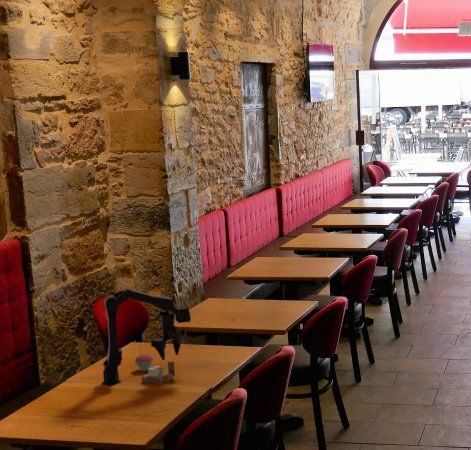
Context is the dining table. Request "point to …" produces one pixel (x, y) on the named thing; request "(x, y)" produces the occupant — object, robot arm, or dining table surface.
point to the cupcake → (143, 361)
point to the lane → (157, 381)
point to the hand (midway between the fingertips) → (170, 357)
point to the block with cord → (161, 370)
